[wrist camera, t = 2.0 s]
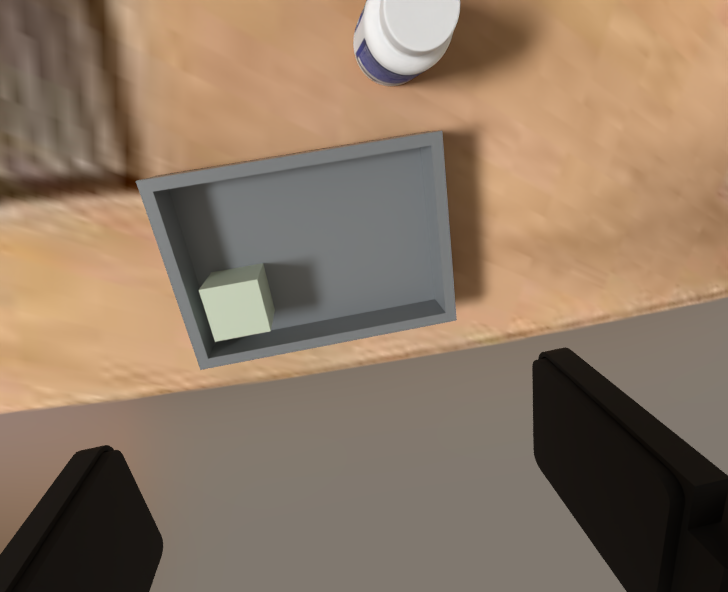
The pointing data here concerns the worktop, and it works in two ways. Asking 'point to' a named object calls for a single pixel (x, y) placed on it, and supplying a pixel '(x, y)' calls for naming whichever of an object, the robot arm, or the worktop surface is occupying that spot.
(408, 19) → the pill bottle
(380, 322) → the bin
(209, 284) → the sage block
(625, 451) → the robot arm
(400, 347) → the worktop surface
